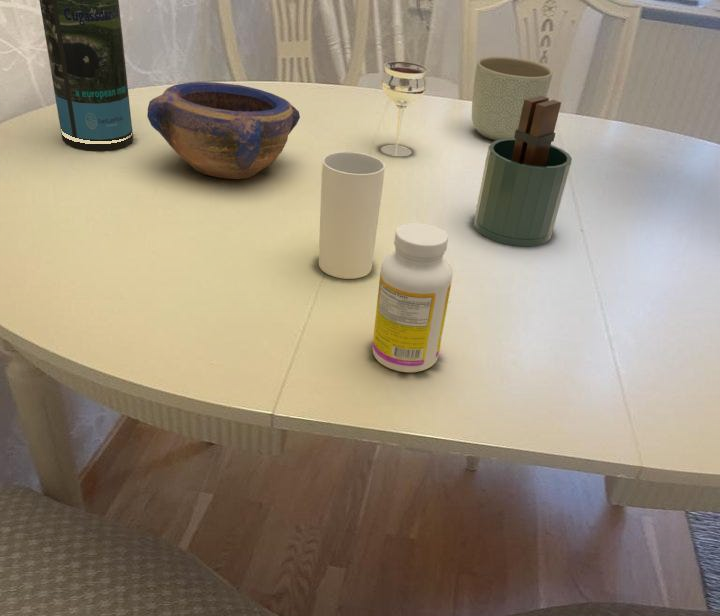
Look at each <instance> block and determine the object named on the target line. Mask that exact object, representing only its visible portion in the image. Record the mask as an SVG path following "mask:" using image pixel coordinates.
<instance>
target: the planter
mask: <svg viewBox="0 0 720 616" xmlns="http://www.w3.org/2000/svg"><path fill="white" fill-rule="evenodd" d="M552 78H553V70H552V69H551V68H550V67H548V66H546V65H545V64H542V63H539V62H537V61H533V60H529V59H525V58H519V57H514V56H513V57H512V56H499V55H498V56H497V55H496V56H495V55H494V56H485V57H480V58H479V59H478V60H477V62H476V68H475V74H474V81H473V90H472V100H471V122H472V125H473V126H474V128H475V130H476V131H477V132H478V133H479V134H480V135H481V136H483V137H484V138H486V139H488V140H492V141H496V140H501V139H511V138H514V136H515V131H516V130H517V129H518V126H519V122H520V117H521V112H522V108H523V103H524V100H525V99H529V98H534V97H538V96H544V97H547V96H548V92H549V89H550V85H551V83H552V82H551V81H552Z"/></svg>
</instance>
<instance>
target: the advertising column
mask: <svg viewBox="0 0 720 616" xmlns="http://www.w3.org/2000/svg"><path fill="white" fill-rule="evenodd" d="M38 1H39V7H40V13H41V20H42V25H43V31H44V37H45V43H46V50H47V55H48V61H49V67H50V72H51V79H52V85H53V92H54V99H55V103H56V109H57V115H58V121H59V128H60V130H61V129H62V131H63V132H64V133H66V134H68V135H70V136H72V137H75V138H79V139H83V140H90V141H112V140H119V139H123V138H126V137H127V136H129V135H131V133H132V136H131V137H130V138H128V139H126V140H124V141H121V142H117V143H111V144H85V143H80V142H74V141H72V140H69V139H67V138H65V137H64V136H63V135H62V133H61V132H60V134H61V139H62V140H61V141H62V142H63V143H64V144H65V145H66V146H68V147H69V148H73V149H76V150H81V151H85V152H102V153H103V152H111V151H118V150H121V149H124V148H127V147H129V146H130V145H132V144H133V142H134V133H133V125H132V124H133V123H132V116H131V115H132V114H131V104H130V95H129V85H128V75H127V67H126V58H125V48H124V39H123V29H122V19H121V10H120V9H121V8H120V0H38Z"/></svg>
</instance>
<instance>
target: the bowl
mask: <svg viewBox="0 0 720 616" xmlns="http://www.w3.org/2000/svg"><path fill="white" fill-rule="evenodd" d="M146 117H147V120H148V121H149V124H150V126H151V127H152V128H153V129H154V130H155V131H157V133H159V135H161V137H163V139H164V140H165V141H166V143H167V144H168V145H169V146H170V147H171V149H173V151H175V153H177V154H178V156H180V157H181V159H182V160H183V161H185V162H186V163H187V164H188V165H189V166H191V167H192V168H193V169H194V170H195V171H197V172H198V173H200V174H202V175H205V176H206V175H207V176H210V177H214V178H218V179H227V180H243V179H250V178H252V177H254V176H255V175H257V174H259V173H260V172H261V171H263V169H265V168H267V167H268V166H270V165H271V164H273V162H275V161H276V160H277V158H278V157H279V156H280V155H281V154H282V152H283V150H284V149H285V146H286V144H287V142H288V140H289V139H288V138H289V135H290V134H291V133H292V131H293V130H294V128H295V127H296V126H297V125H298V122H299V121H300V118H301V115H300V111H299V110H298V109H297V108H296V107H294V105H292V104H291V102H290V101H288V100H287V99H285V98H283V97H281V96H278V95H277V94H274V93H271V92H268V91H265V90H262V89H259V88H254V87H250V86H245V85H241V84H233V83H225V82H215V81H213V82H212V81H211V82H210V81H193V82H191V81H190V82H183V83H177V84H173V85H170V86H169V87H167V88H166V89H165V90H164V92H163V93H162V94H160V95H159V96H156V97H154V98H152V99H151V100H150V101H149V103H148V106H147V115H146Z"/></svg>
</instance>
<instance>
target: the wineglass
mask: <svg viewBox="0 0 720 616" xmlns="http://www.w3.org/2000/svg"><path fill="white" fill-rule="evenodd" d="M383 68H384V71H385V72H384V73H383V75H382V79H381V86H382V91H383V93H384V94H385V96H386V98H387V99H388V100H389V101H390V102H392V103H393V104H395V106H396V109H398V111H397V122H396V123H397V124H396V136H395V144H389V145H384V146H382V147H380V151H381V152H382V153H383V154H384V155H388V156H393V157H408V156H411V155H412V154H413V151H412V150H411V149H409V148H408V147H405V146H403V145H399V141H400V135H401V129H402V122H403V116H404V109H405V110H406V109H407V107H408V106H411V105H413V104H416V103H417V101H419V100H420V99H421V98H422V97H423V96H424V94H425V92H426V91H427V78H426V75H427V74H428V72H429V69H428V67H426V66H425V65H422V64H419V63H416V62H415V63H414V62H410V61H398V60H397V61H395V60H394V61H389V62H385V63H383Z"/></svg>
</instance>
